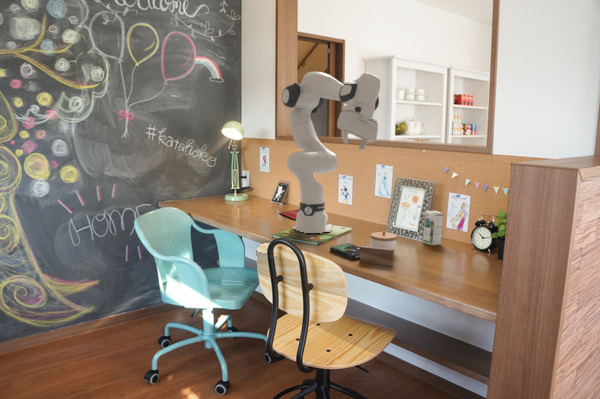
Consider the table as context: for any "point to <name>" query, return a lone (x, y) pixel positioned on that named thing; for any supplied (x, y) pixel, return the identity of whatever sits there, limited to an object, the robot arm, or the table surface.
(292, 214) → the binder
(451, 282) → the table surface
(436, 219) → the syrup box
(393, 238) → the lidded jar
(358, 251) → the disk drive
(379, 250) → the walnut board
